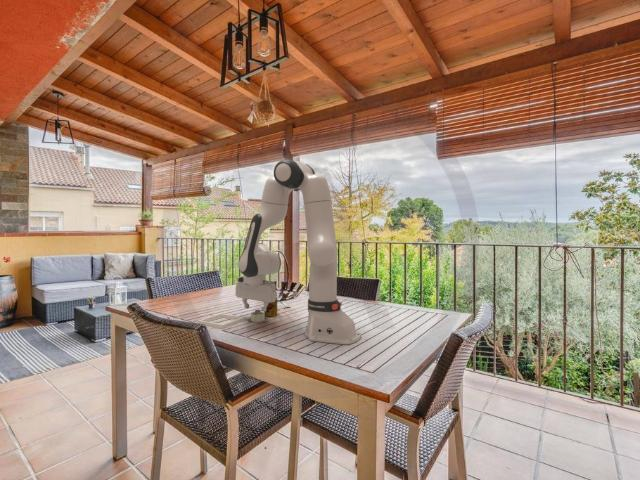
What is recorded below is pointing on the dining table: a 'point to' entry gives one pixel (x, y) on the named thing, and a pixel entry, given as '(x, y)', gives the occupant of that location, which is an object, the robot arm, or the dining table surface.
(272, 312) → the condiment
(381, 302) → the dining table surface
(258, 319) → the ring
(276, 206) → the robot arm
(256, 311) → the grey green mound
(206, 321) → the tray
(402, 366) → the dining table surface
